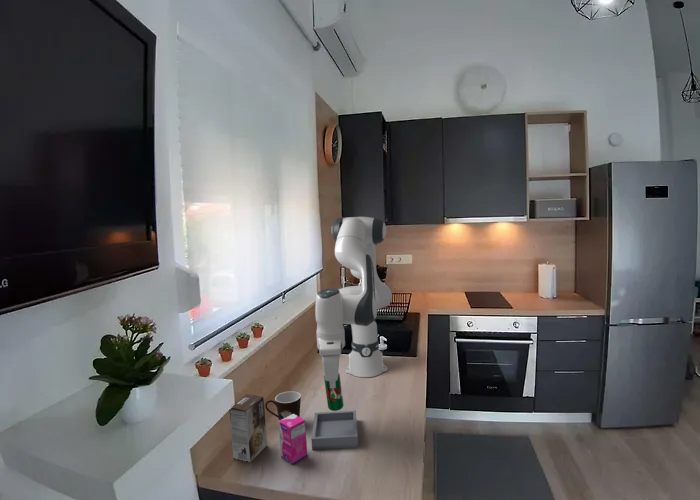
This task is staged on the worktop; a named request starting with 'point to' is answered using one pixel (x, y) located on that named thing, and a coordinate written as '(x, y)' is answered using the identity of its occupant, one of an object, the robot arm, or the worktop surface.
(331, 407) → the soda can
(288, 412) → the coffee mug
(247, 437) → the coffee box
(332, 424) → the tray
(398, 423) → the worktop surface
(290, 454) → the supplement box
